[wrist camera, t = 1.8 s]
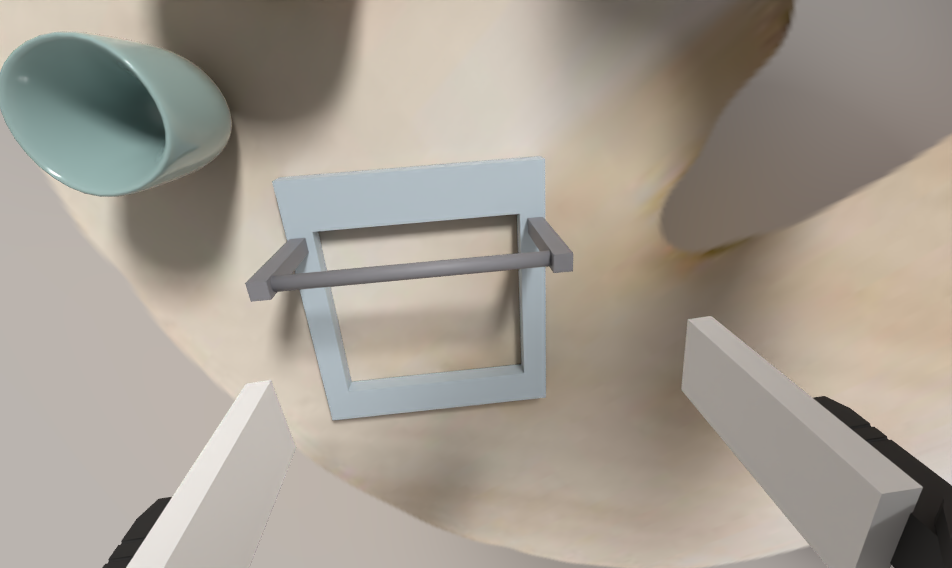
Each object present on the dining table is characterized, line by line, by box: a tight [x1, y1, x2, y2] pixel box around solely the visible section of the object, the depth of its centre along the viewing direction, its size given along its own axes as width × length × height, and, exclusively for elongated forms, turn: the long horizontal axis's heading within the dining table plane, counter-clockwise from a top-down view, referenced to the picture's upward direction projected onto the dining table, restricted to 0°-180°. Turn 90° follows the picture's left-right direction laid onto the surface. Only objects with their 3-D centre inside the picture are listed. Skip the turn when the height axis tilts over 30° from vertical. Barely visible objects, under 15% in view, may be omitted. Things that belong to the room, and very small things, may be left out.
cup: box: [0, 32, 232, 197], centre depth 26 cm, size 8×8×10 cm
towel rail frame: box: [245, 156, 573, 420], centre depth 34 cm, size 22×20×10 cm
